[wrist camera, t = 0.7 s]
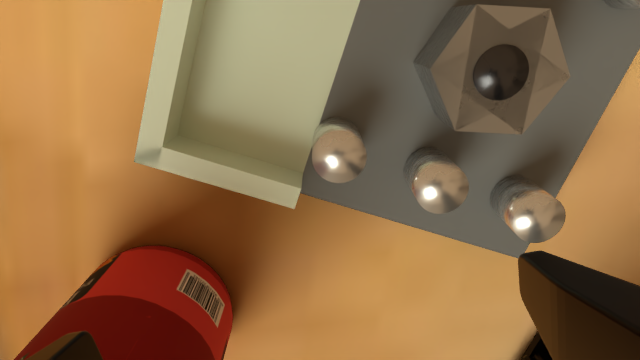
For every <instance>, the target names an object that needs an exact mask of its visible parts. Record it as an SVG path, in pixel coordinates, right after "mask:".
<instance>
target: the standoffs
mask: <svg viewBox="0 0 640 360" xmlns="http://www.w3.org/2000/svg"><path fill="white" fill-rule="evenodd" d="M603 1H604V2H605V3H606V4H607V5H608V6H610V7H612V8H615V9H629V8H640V0H603ZM366 159H367V154H366V149H365V146H364V144H363V141H362V138H361V136H360V133H359V131H358V129H357V127H356V126H355V125H354V124H353V123H352V122H351V121H350V120H348V119H345V118H342V117H332V118H328V119H326V120H324V121H323V122H321V123H320V124H319V125H318V127H317V128H316V130H315V132H314V135H313V144H312V163H313V166H314V168H315V170H316V172H317V173H318V174H319V175H320V176H321V177H322V178H323V179H325V180H327V181H330V182H333V183H345V182H348V181H351V180H353V179H354V178H356V177H357V176H358V175H359V174H360V173H361V172H362V170H363V169H364V167H365V164H366ZM404 177H405V179H406V181H407V183H408V185H409V187H410V188H411V190H412V192H413V194H414V195H415V197H416V199H417V201H418V203H419V204H420V205H421V207H422V208H424V209H425V210H427V211H428V212H431V213H435V214H443V213H448V212H451V211H453V210H455V209H456V208H458V207H459V206H460V205H461V204H462V203H463V202H464V200H465V199H466V197H467V194H468V190H469V183H468V179H467V177H466V175H465V174H464V172H463V171H462V170H461V169H460V168H459V167H458V166H457V165H456V164H455V163H454V162H453V161H452V160H451V159H450V158H449V157H448V156H447V155H446V154H445V153H444V152H443V151H442V150H440V149H438V148H435V147H423V148H420V149H418V150H416V151H414V152H413V153H412V154H411V155H410V156H409V157H408V158H407V160H406V162H405V165H404ZM490 204H491V207H492V209H493V210H494V211H495V212H496V213H497V214H498V216H499V217H500V218H501V219H502V220H503V221H504V222H505V223H506V224H507V225H508V226H509V227H510V228H511V229H512V230H513V231H514V233H515V234H516V235H517V236H518V237H519V238H521V239H522V240H524V241H526V242H530V243H539V242H543V241H546V240H548V239H550V238H552V237H553V236H555V235H556V234H557V233H558V232H559V231H560V229H561V228H562V226H563V224H564V222H565V209H564V207H563V205H562V204H561V203H560V202H559V201H558V200H557V199H555V198H554V197H553V196H551V195H550V194H549V193H547V192H546V191H545V190H543V189H542V188H541V187H539V186H538V185H536V184H535V183H534V182H532V181H531V180H530V179H528V178H527V177H524V176H521V175H512V176H508V177H505V178H503V179H502V180H500V181H499V182H498V183H497V184H496V185H495V186H494V188H493V189H492V191H491V194H490Z"/></svg>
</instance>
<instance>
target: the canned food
mask: <svg viewBox="0 0 640 360" xmlns="http://www.w3.org/2000/svg"><path fill="white" fill-rule="evenodd" d="M232 321H233V314H232V306H231V300H230V296H229V293H228V290H227V288H226V286H225V284H224V282H223V281H222V279H221V278H220V276H219V275H218V274H217V273H216V272H215V271H214V270H213V269H212V268H211V267H210V266H209V265H207V264H206V263H205V262H203V261H202V260H201V259H199V258H197V257H195V256H193V255H192V254H190V253H188V252H185V251H182V250H179V249H176V248H171V247H165V246H142V247H136V248H132V249H130V250H127V251H124V252H122V253H120V254H117V255H115V256H113V257H111V258H110V259H108V260H107V261H105V262H104V263H102V264H101V265H100V266H99V267H98V268H97V269H96V270H95V271H94V272H93V273H92V274H91V276H90V277H89V278H88V279H87V280H86V281H85V282H84V283H83V284H82V285H81V287H80V288H79V289H78V290H77V291H76V292H75V293H74V294H73V295H72V296H71V298H70V299H69V300H68V301H67V302H66V303H65V304H64V305H63V306H62V307H61V308H60V310H59V311H58V312H57V313H56V314H55V315H54V316H53V317H52V318H51V319H50V321H49V322H48V323H47V324H46V325H45V326H44V327H43V328H42V329H41V330H40V331H39V333H38V334H37V335H36V336H35V337H34V338H33V339H32V340H31V341H30V342H29V344H28V345H27V346H26V347H25V348H24V349H23V350H22V351H21V352H20V353H19V354H18V356H17V357H16V358H15V359H14V360H26V359H27V358H29V357H30V356H32V355H34V354H35V353H37V352H38V351H40V350H42V349H43V348H45V347H46V346H48V345H50V344H51V343H53V342H54V341H56V340H58V339H59V338H61V337H62V336H64V335H66V334H68V333H73V332H79V331H87V332H89V333H90V334H91V335H92V337H93V339H94V341H95V343H96V345H97V347H98V349H99V351H100V354H101V356H102V358H103V360H223V358H224V354H225V351H226V347H227V344H228V340H229V336H230V333H231V329H232Z"/></svg>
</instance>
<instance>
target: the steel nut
mask: <svg viewBox="0 0 640 360" xmlns="http://www.w3.org/2000/svg"><path fill="white" fill-rule="evenodd" d="M413 64H414V66H415V68H416V71H417V73H418V76H419V78H420V80H421V83H422V85H423V88H424V90H425V92H426V95H427V97H428V100H429V102H430V105H431V107H432V109H433V112H434V114H435V116H437V117H438V118H439V119H440V120H442V121H443V122H444V123H446V124H447V125H448V126H449V127H451V128H452V129H453V130H454V131H463V132H482V133H502V134H521V135H522V134H523V133H524V132H525V130H526V129H527V128H528V127H529V126H530V125H531V123H532V122H533V121H534V120H535V119H536V117H537V116H538V115H539V114H540V113H541V111H542V110H543V109H544V108H545V107H546V105H547V104H548V103H549V102H550V101H551V99H552V98H553V97H554V96H555V95H556V93H557V92H558V91H559V90H560V89H561V87H562V86H563V85H564V84H565V83H566V82H567V80H568V79H569V78H570V73H569V70H568V66H567V63H566V60H565V56H564V53H563V49H562V46H561V43H560V39H559V36H558V32H557V29H556V26H555V22H554V19H553V15H552V12H551V9H548V8H531V7H514V6H497V5H480V4H475V5H467V6H458V7H451V8H450V10H449V11H448V12H447V14H446V15H445V17H444V18H443V20H442V21H441V22H440V24H439V25H438V27H437V28H436V30H435V31H434V32H433V34H432V35H431V37H430V38H429V39H428V41H427V42H426V44H425V45H424V47H423V48H422V49H421V51H420V52H419V54H418V55H417V57H416V58H415V59H414V61H413Z"/></svg>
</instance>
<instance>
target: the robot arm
mask: <svg viewBox="0 0 640 360" xmlns="http://www.w3.org/2000/svg"><path fill="white" fill-rule="evenodd" d="M518 269H519V285H520V294H521V297H522V300H523V302H524V304H525V306H526V308H527V310H528V312H529V314H530V316H531V318H532V320H533V322H534V324H535V326H536V328H537V330H538V333H537V334H536V336H535V338H534V339H533V341H532V342H531V344H530V346H529V347H528V349H527V350H526V352H525V354H524V355H523V357H522V358H521V360H640V286H638V285H635V284H633V283H630V282H627V281H624V280H622V279H619V278H616V277H613V276H610V275H608V274H605V273H602V272H599V271H596V270H594V269H591V268H588V267H585V266H583V265H580V264H577V263H574V262H571V261H569V260H566V259H563V258H560V257H558V256H555V255H552V254H549V253H546V252H544V251H534V252H529V253H523V254H521V255H520V256H519V259H518ZM26 360H103V358H102V356H101V354H100V351H99V349H98V347H97V345H96V343H95V341H94V339H93V337H92V335H91V334H90V333H89V332H87V331H79V332H73V333H68V334H66V335H64V336H62V337H61V338H59V339H58V340H56V341H54V342H53V343H51V344H50V345H48V346H46V347H45V348H43V349H42V350H40V351H38V352H37V353H35V354H34V355H32V356H30V357H29V358H27V359H26Z"/></svg>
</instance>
